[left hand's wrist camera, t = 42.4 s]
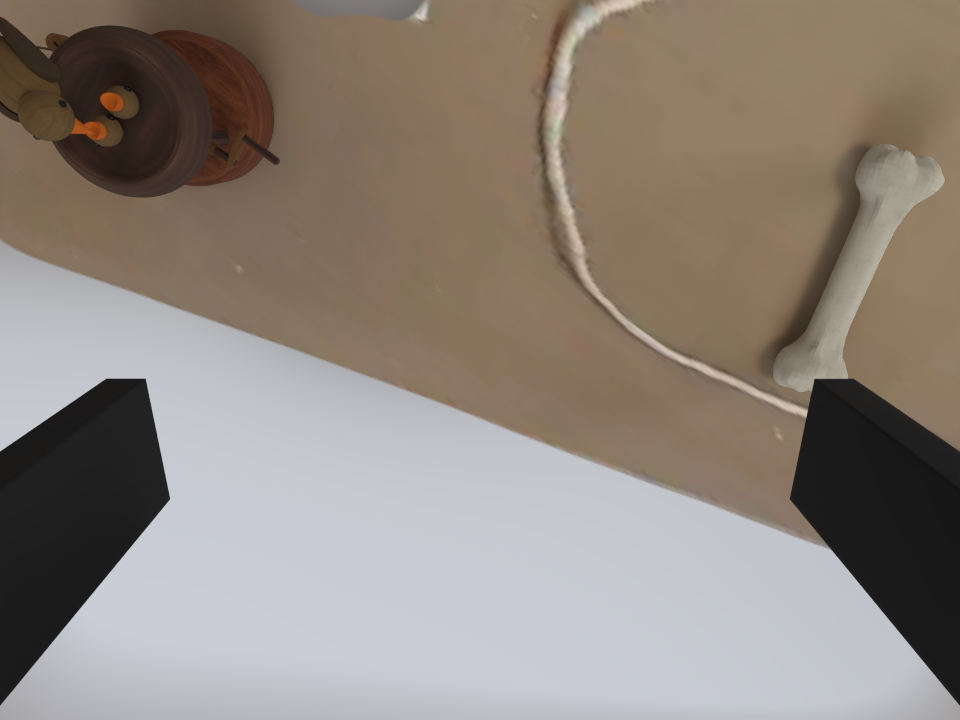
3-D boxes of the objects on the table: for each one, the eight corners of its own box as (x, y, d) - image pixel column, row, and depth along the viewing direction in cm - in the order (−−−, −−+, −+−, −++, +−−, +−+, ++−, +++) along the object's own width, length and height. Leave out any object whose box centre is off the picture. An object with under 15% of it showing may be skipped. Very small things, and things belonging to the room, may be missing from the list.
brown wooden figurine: (95, 137, 49) (-139, 111, 29) (145, -2, 46) (-75, -128, 27) (278, 232, 51) (172, 265, 32) (335, 105, 49) (257, 59, 30)
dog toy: (820, 387, 56) (851, 411, 52) (756, 373, 56) (782, 396, 51) (925, 157, 49) (972, 160, 45) (854, 138, 49) (894, 140, 44)
